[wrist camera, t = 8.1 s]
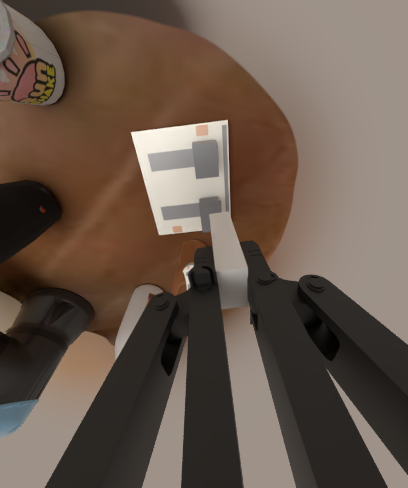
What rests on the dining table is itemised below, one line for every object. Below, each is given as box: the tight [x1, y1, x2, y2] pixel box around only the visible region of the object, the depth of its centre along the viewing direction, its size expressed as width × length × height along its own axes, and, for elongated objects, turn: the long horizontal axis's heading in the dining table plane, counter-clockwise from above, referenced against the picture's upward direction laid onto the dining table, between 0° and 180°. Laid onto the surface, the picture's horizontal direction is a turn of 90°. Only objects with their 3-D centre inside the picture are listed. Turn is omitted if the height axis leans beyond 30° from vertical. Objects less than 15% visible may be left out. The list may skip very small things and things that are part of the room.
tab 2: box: [199, 197, 221, 233], centre depth 29 cm, size 3×4×4 cm
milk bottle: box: [115, 284, 163, 359], centre depth 37 cm, size 8×8×20 cm
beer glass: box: [170, 239, 207, 296], centre depth 32 cm, size 7×7×15 cm
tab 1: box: [192, 139, 219, 179], centre depth 25 cm, size 3×4×4 cm
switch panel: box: [131, 120, 231, 235], centre depth 30 cm, size 13×16×3 cm
